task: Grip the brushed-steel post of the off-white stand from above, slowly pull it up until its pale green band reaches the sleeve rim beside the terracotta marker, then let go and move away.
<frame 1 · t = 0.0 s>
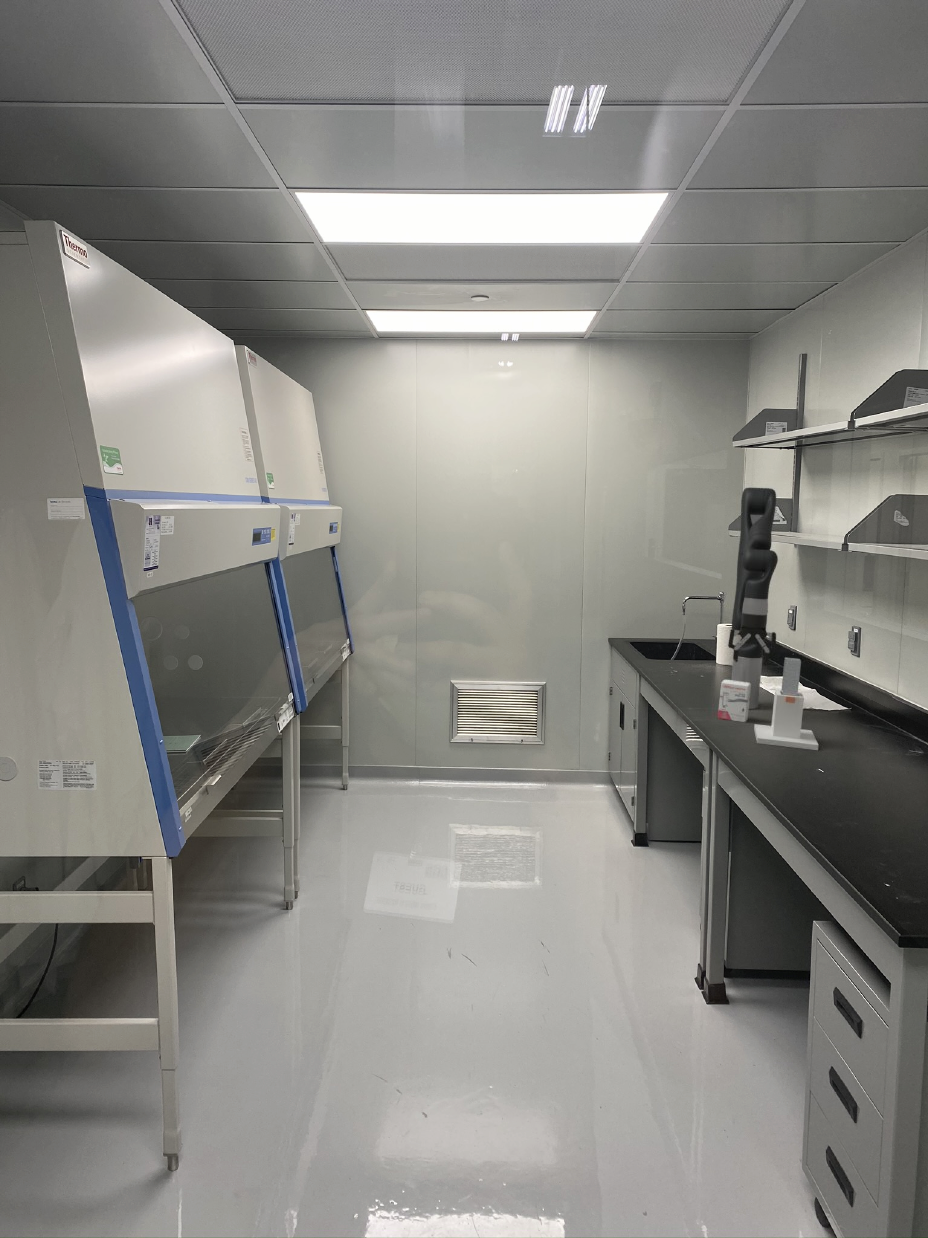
hand: (750, 662, 259), 17 cm above the lab bench, fingers open, 8 cm apart
stand housing: (784, 739, 235), on the lab bench
steel post: (788, 696, 234), point 13 cm above the lab bench, slide at 0.0 cm
ink box: (732, 719, 256), on the lab bench
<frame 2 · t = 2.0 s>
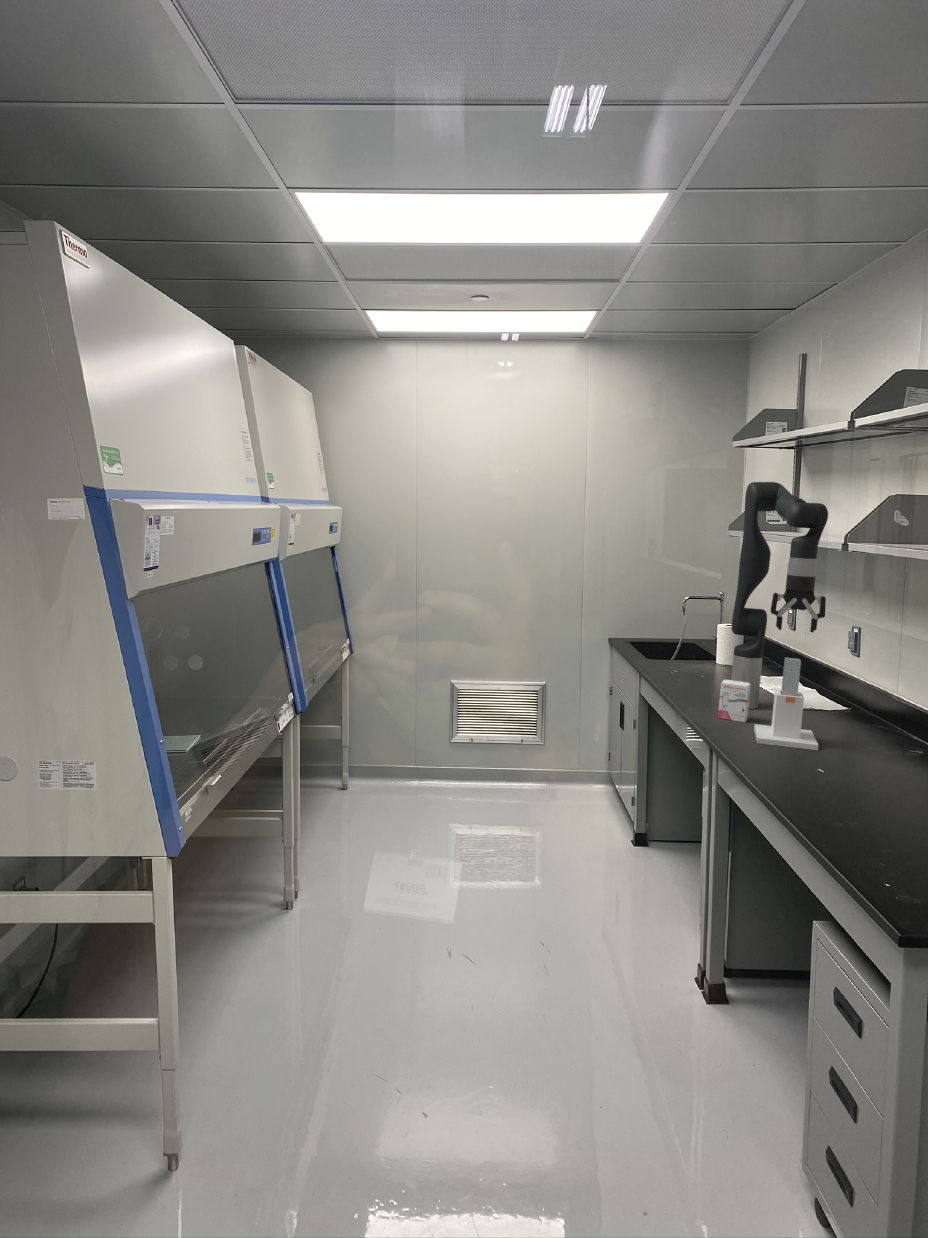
hand: (795, 630, 231), 32 cm above the lab bench, fingers open, 8 cm apart
nothing on the lab bench moved.
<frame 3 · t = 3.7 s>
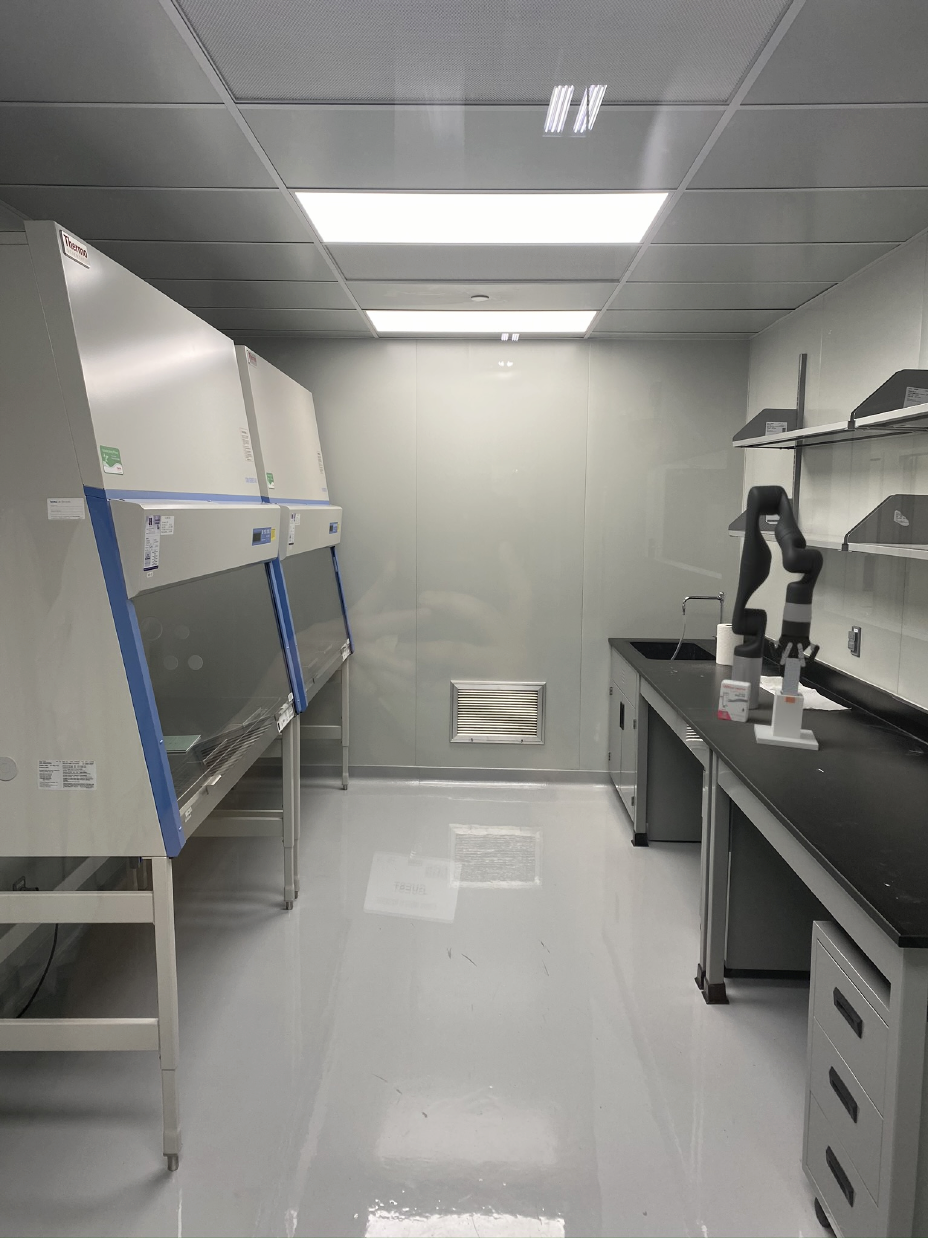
hand: (790, 677, 233), 18 cm above the lab bench, fingers closed on steel post, 4 cm apart
steel post: (788, 696, 234), point 13 cm above the lab bench, slide at 0.0 cm, touching gripper
everything else where it was.
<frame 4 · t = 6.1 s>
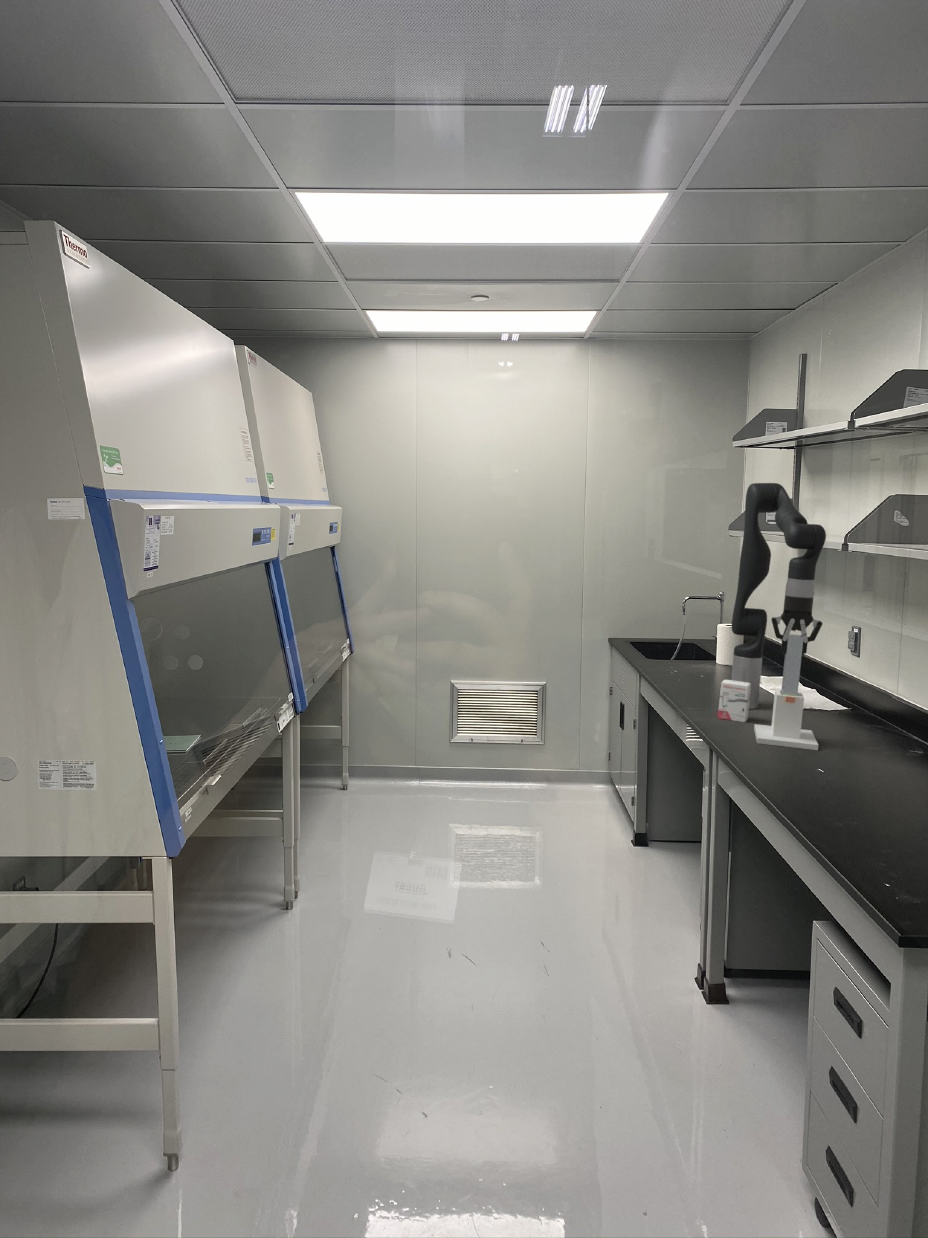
hand: (793, 654, 232), 25 cm above the lab bench, fingers closed on steel post, 4 cm apart
steel post: (791, 673, 233), point 19 cm above the lab bench, slide at 6.9 cm, touching gripper
everything else where it was.
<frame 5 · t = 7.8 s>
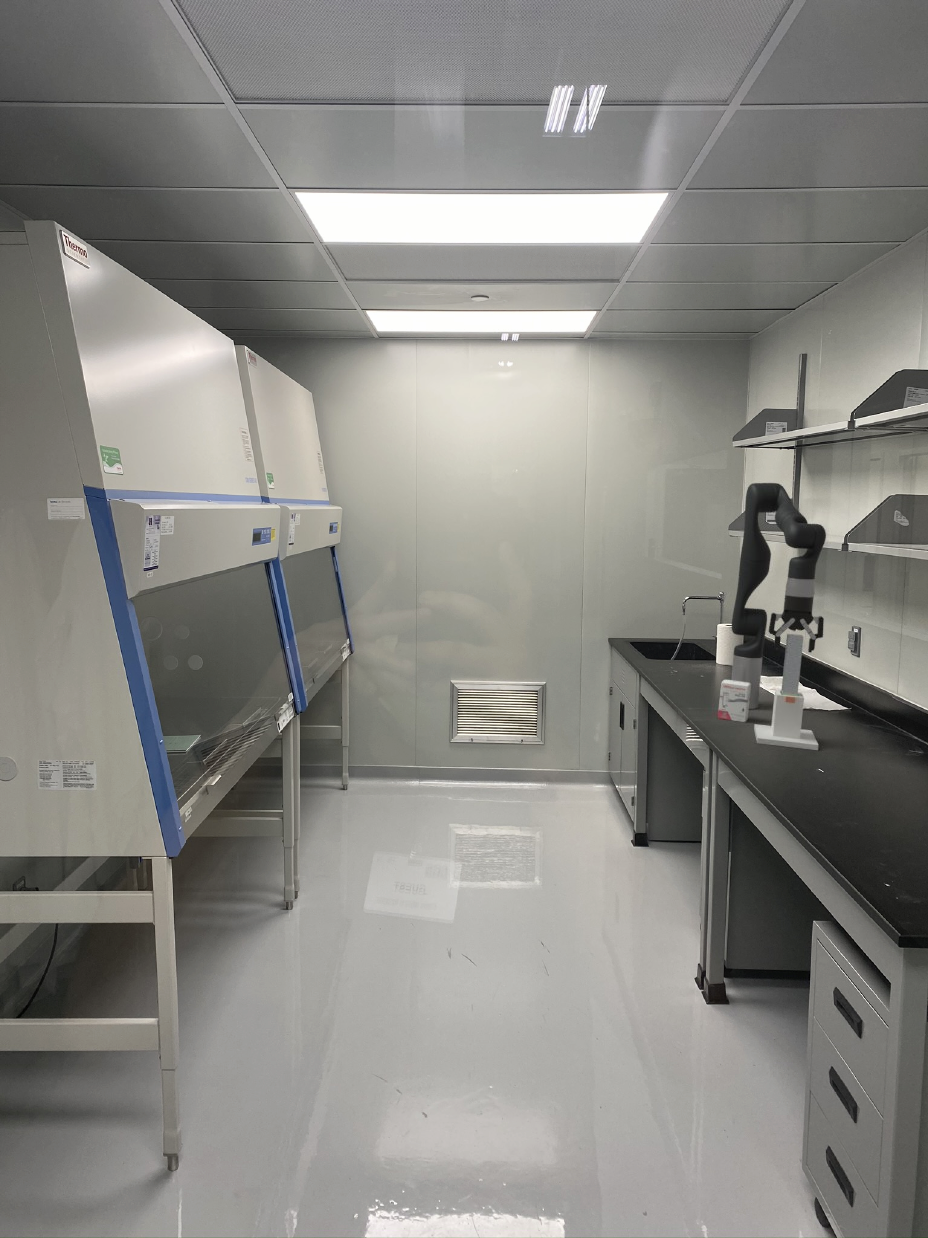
hand: (793, 650, 232), 26 cm above the lab bench, fingers open, 8 cm apart
steel post: (791, 673, 233), point 20 cm above the lab bench, slide at 6.9 cm
everything else where it was.
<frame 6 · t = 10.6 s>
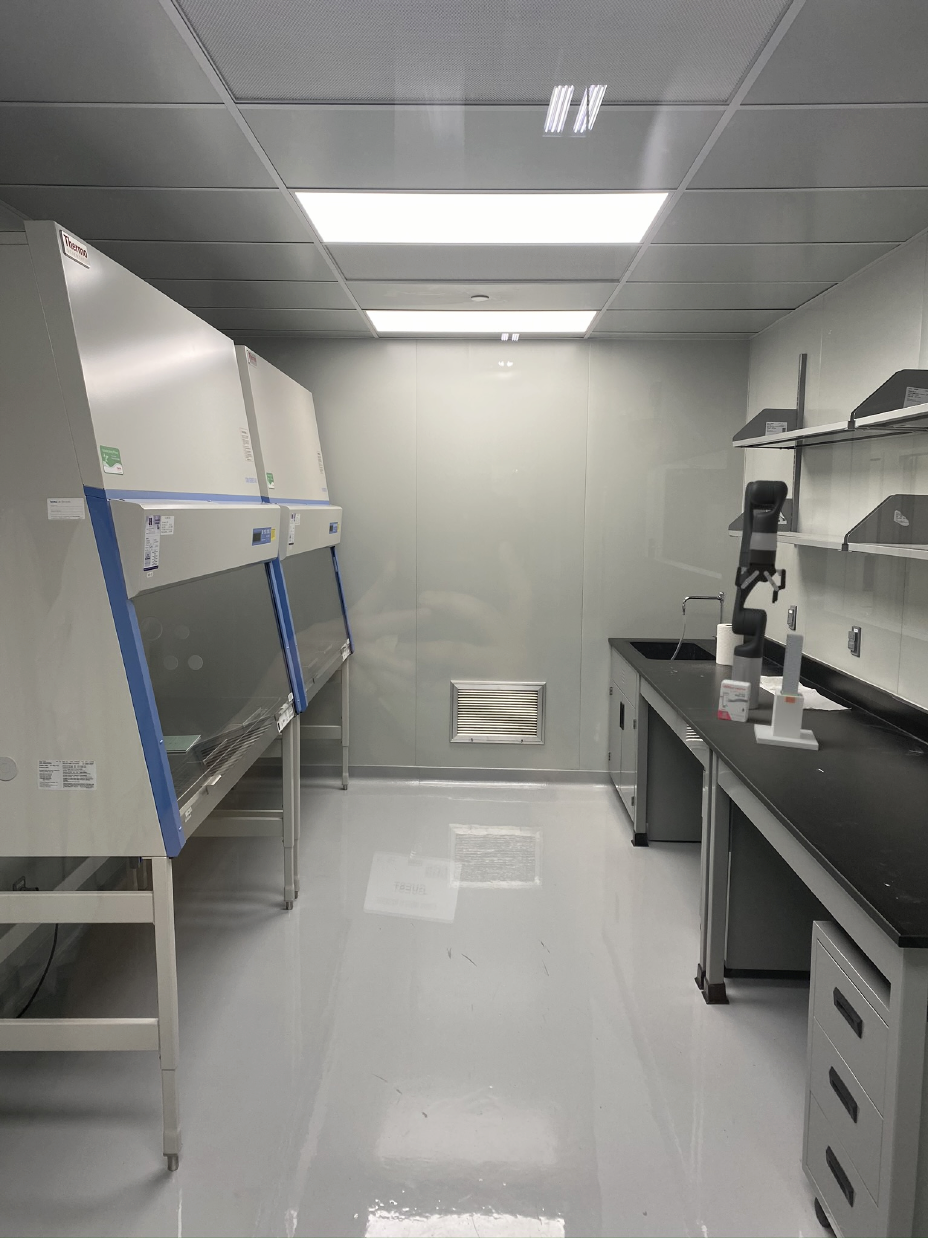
hand: (758, 602, 244), 38 cm above the lab bench, fingers open, 8 cm apart
nothing on the lab bench moved.
at the end: steel post slide at 6.9 cm; the gripper is holding nothing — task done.
